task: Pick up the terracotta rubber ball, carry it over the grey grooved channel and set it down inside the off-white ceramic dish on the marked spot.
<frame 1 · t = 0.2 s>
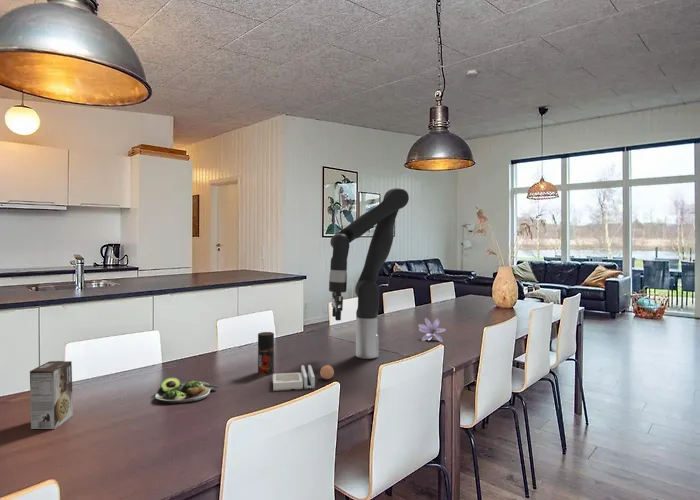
hand: (336, 318, 185), 17 cm above the table, tool pointing down, fingers open, 8 cm apart
grey grooved channel: (307, 381, 155), on the table
salad plate: (182, 395, 143), on the table
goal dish: (287, 384, 152), on the table
deodorant: (265, 373, 165), on the table
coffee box: (52, 423, 120), on the table
ball: (327, 378, 159), on the table
water lily: (430, 340, 220), on the table
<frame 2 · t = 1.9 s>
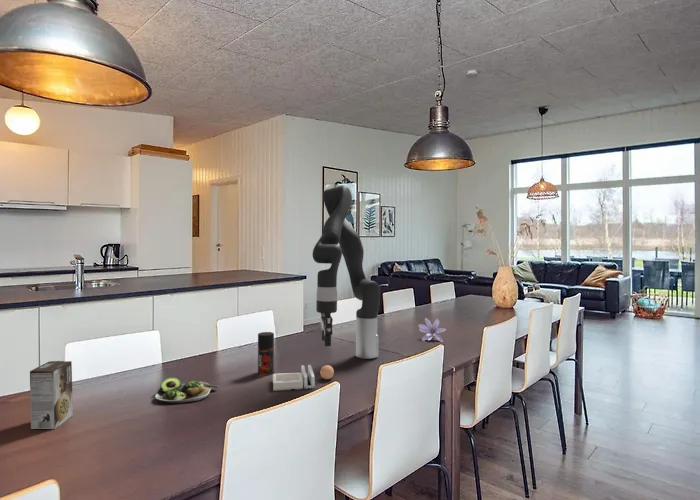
hand: (326, 343, 158), 13 cm above the table, tool pointing down, fingers open, 8 cm apart
nothing on the table moved.
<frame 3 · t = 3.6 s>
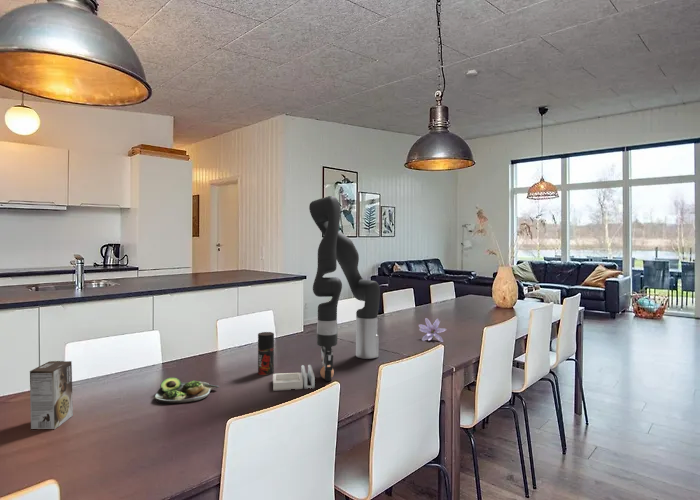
hand: (326, 377, 159), 0 cm above the table, tool pointing down, fingers closed on ball, 5 cm apart
ball: (327, 379, 159), on the table, touching gripper
everything else where it was.
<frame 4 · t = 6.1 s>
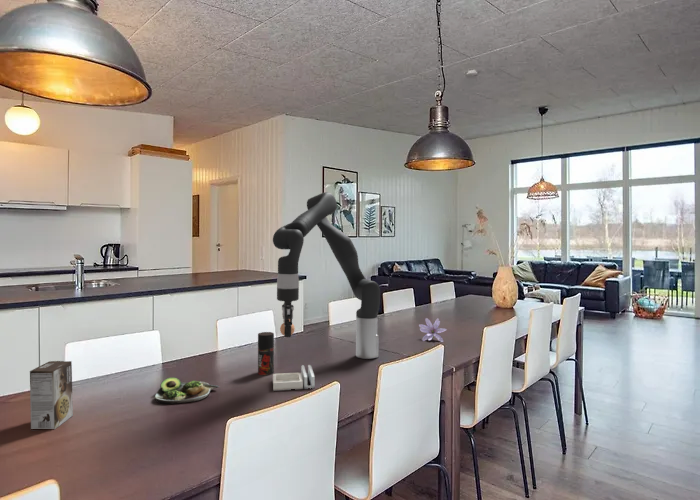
hand: (287, 334, 151), 18 cm above the table, tool pointing down, fingers closed on ball, 5 cm apart
ball: (287, 336, 151), point 17 cm above the table, touching gripper
everything else where it was.
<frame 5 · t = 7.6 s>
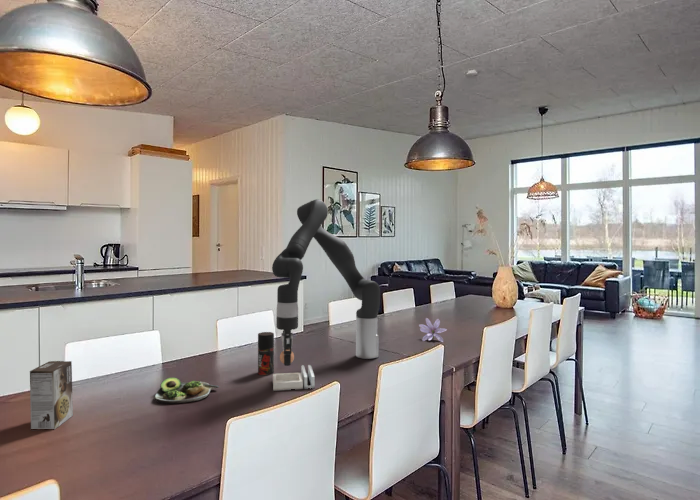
hand: (287, 362, 152), 8 cm above the table, tool pointing down, fingers closed on ball, 5 cm apart
ball: (286, 364, 152), point 7 cm above the table, touching gripper
everything else where it was.
when the fingers open (3 cm above the table, at t = 8.9 s): ball drops 2 cm, resting on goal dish.
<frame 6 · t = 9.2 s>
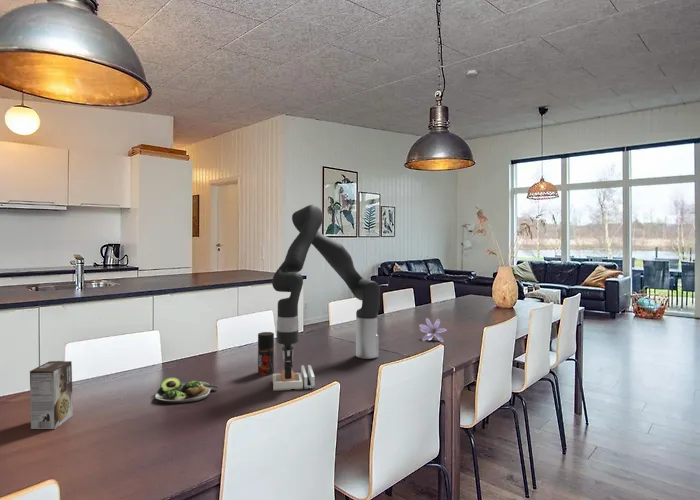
hand: (287, 374, 152), 4 cm above the table, tool pointing down, fingers open, 8 cm apart
ball: (287, 382, 152), point 1 cm above the table, touching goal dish
everything else where it was.
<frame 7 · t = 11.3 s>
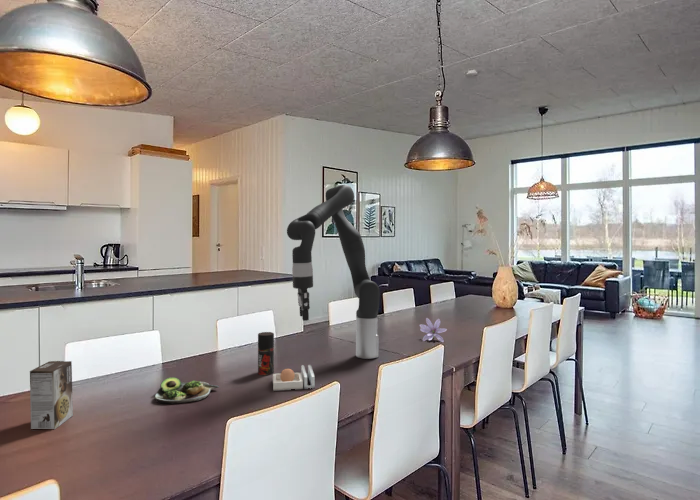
hand: (304, 318, 161), 22 cm above the table, tool pointing down, fingers open, 8 cm apart
nothing on the table moved.
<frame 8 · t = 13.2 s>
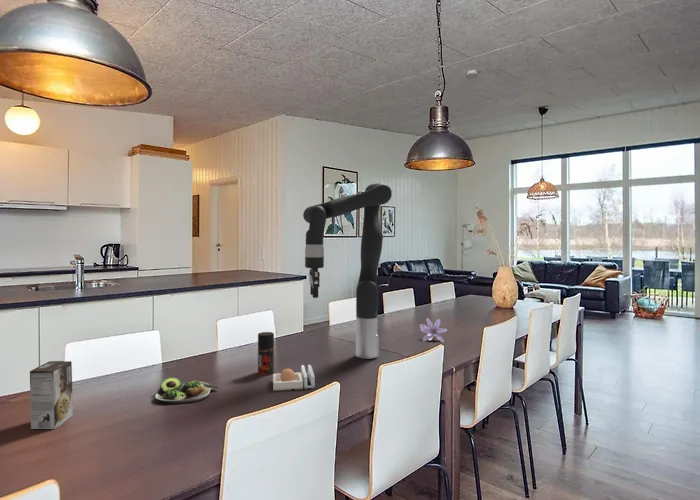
hand: (314, 296, 174), 28 cm above the table, tool pointing down, fingers open, 8 cm apart
nothing on the table moved.
at the end: ball inside the target area on the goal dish (0.0 cm from its centre), point 0.7 cm above the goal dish's base; the gripper is holding nothing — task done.
